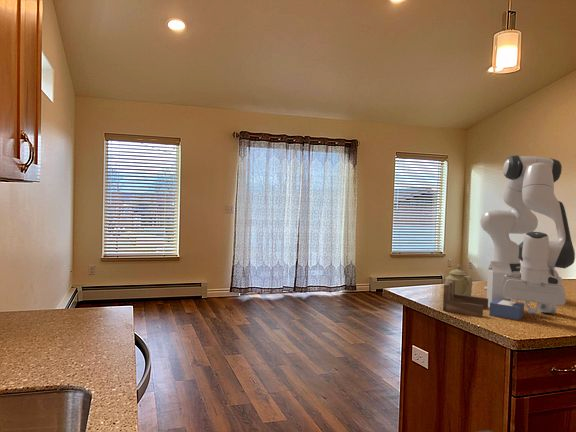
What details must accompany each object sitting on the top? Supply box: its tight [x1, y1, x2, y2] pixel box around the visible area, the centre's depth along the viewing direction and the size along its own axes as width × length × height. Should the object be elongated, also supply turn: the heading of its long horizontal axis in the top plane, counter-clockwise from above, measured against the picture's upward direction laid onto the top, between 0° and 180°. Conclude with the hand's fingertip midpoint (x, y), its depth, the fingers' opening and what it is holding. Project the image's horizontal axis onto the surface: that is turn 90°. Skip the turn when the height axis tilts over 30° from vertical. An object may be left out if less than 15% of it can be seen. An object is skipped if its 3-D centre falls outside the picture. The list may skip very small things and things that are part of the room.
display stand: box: [442, 280, 489, 317], centre depth 175 cm, size 15×14×10 cm
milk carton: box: [486, 260, 512, 308], centre depth 178 cm, size 7×7×19 cm
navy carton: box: [489, 299, 525, 321], centre depth 167 cm, size 9×10×5 cm
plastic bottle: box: [537, 266, 560, 314], centre depth 172 cm, size 6×7×20 cm
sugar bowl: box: [444, 263, 473, 296], centre depth 196 cm, size 15×11×15 cm
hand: (532, 313), depth 163 cm, fingers closed
